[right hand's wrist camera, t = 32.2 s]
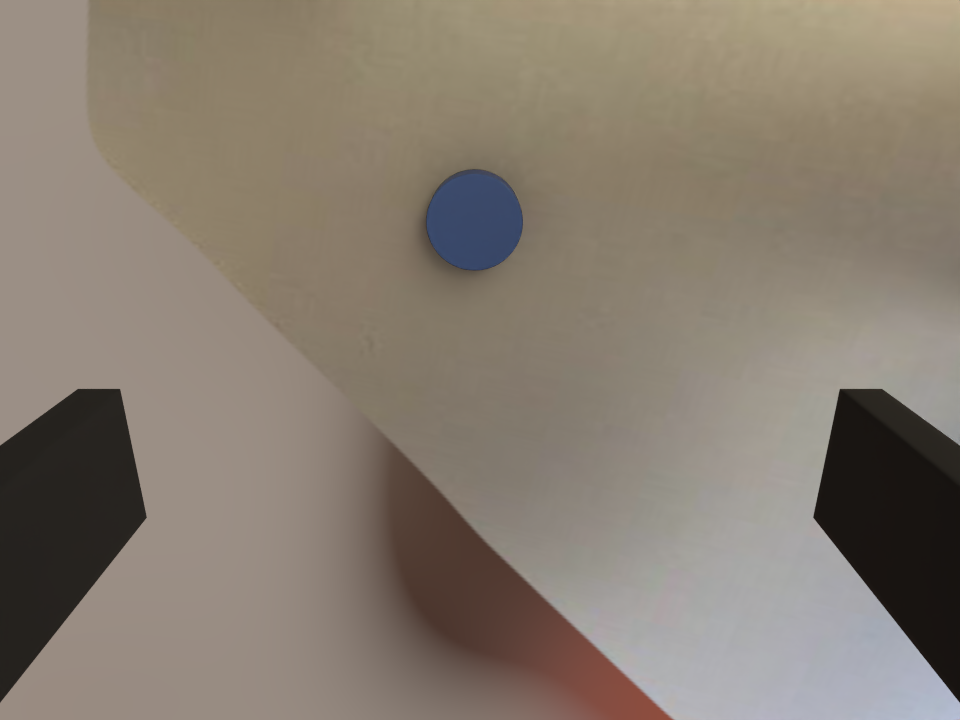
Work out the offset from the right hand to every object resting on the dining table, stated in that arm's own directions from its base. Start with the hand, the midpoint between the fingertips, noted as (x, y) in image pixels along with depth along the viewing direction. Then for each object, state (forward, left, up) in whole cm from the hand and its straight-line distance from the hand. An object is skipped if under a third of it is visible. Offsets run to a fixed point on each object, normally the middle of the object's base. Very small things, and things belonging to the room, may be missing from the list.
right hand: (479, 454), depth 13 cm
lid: (0, 0, -25) cm, 25 cm away
